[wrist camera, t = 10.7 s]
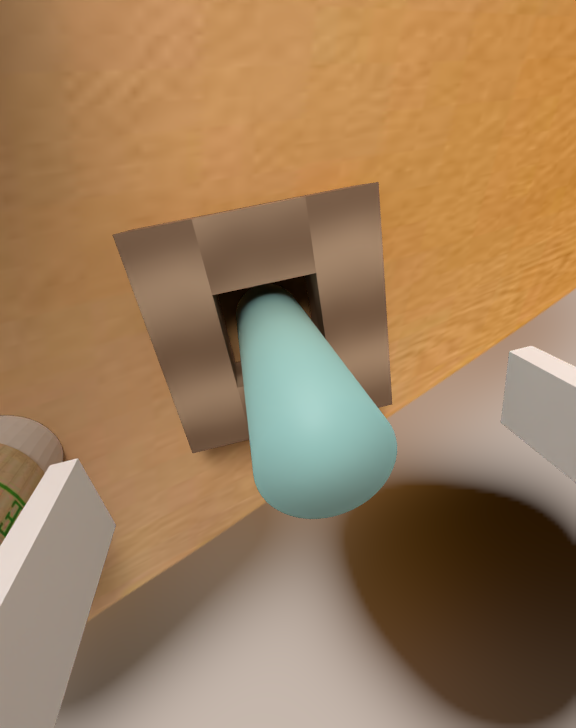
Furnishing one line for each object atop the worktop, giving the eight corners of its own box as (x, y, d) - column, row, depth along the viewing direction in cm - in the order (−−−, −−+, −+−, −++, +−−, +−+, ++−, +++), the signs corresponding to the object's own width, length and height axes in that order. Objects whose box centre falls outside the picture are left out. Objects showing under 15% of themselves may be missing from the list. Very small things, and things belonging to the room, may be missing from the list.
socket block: (131, 229, 22) (112, 234, 18) (353, 185, 23) (378, 182, 19) (196, 420, 28) (192, 453, 24) (371, 379, 29) (392, 404, 25)
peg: (229, 291, 24) (237, 420, 10) (292, 277, 24) (393, 382, 10) (244, 350, 26) (269, 533, 12) (303, 337, 26) (399, 498, 12)
